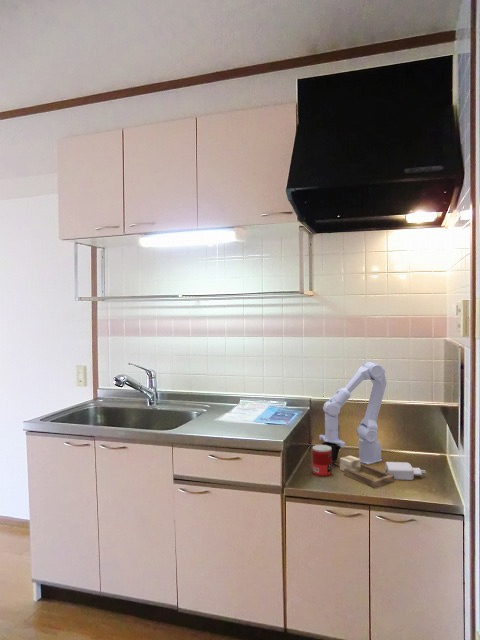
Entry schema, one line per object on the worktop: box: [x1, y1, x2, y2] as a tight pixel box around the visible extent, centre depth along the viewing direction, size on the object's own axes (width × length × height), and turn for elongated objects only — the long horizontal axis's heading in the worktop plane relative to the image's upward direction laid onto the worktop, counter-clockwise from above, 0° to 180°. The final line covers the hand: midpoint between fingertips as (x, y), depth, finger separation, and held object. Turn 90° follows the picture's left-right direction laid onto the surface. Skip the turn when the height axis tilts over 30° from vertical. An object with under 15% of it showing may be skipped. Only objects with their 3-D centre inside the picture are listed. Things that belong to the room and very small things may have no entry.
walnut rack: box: [343, 463, 395, 489], centre depth 189 cm, size 11×17×2 cm, turn 31°
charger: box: [385, 461, 427, 481], centre depth 190 cm, size 5×9×15 cm
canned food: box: [311, 444, 333, 478], centre depth 195 cm, size 8×8×11 cm
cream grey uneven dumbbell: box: [332, 455, 362, 473], centre depth 202 cm, size 6×15×6 cm, turn 31°
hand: (332, 459), depth 207 cm, fingers closed on cream grey uneven dumbbell, 2 cm apart
